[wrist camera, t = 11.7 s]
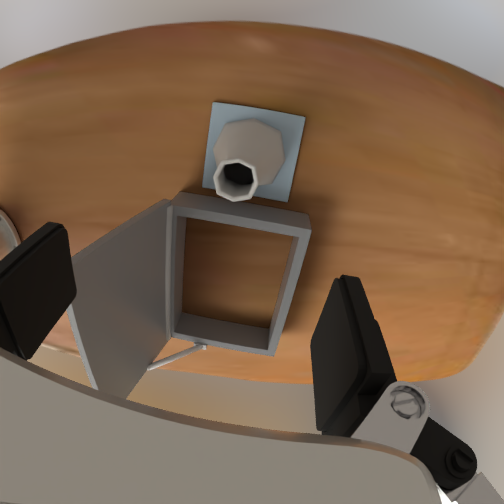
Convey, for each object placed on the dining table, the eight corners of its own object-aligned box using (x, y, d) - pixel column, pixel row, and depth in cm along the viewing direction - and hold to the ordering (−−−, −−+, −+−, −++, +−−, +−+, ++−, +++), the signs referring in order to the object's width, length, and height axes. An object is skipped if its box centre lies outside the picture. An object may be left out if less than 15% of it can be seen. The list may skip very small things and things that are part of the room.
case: (170, 315, 41) (160, 339, 37) (174, 190, 32) (159, 206, 28) (274, 335, 41) (273, 361, 37) (308, 214, 32) (312, 233, 28)
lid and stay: (145, 329, 39) (104, 418, 26) (140, 191, 29) (55, 269, 16) (207, 343, 39) (182, 441, 26) (223, 204, 29) (180, 300, 17)
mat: (202, 186, 32) (202, 187, 31) (213, 102, 27) (212, 102, 27) (287, 200, 32) (287, 202, 31) (305, 117, 27) (305, 117, 27)
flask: (209, 182, 31) (181, 220, 22) (217, 113, 27) (189, 122, 19) (279, 192, 31) (279, 236, 22) (291, 124, 27) (298, 137, 19)
